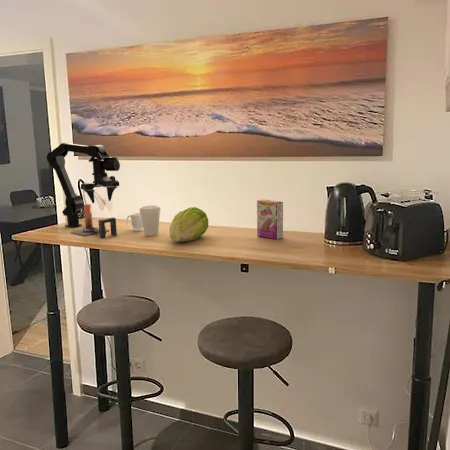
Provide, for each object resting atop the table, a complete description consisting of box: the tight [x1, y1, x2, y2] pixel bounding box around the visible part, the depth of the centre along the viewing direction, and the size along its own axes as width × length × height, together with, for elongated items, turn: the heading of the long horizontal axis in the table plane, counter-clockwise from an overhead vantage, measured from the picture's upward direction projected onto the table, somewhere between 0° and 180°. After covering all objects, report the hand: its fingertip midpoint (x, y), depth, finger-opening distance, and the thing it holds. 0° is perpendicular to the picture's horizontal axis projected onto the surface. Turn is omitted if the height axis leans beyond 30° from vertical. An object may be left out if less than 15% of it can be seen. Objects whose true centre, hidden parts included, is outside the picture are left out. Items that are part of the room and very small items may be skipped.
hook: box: [82, 203, 107, 235], centre depth 231 cm, size 17×6×13 cm, turn 45°
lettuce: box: [169, 206, 209, 242], centre depth 213 cm, size 14×24×15 cm
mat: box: [70, 227, 110, 237], centre depth 236 cm, size 12×14×1 cm
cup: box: [126, 212, 144, 232], centre depth 237 cm, size 7×10×8 cm
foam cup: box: [139, 204, 161, 237], centre depth 226 cm, size 10×9×13 cm
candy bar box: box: [256, 198, 284, 241], centre depth 214 cm, size 11×5×16 cm, turn 47°
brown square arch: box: [97, 217, 118, 239], centre depth 223 cm, size 2×8×8 cm, turn 135°
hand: (101, 202), depth 243 cm, fingers open, 9 cm apart
